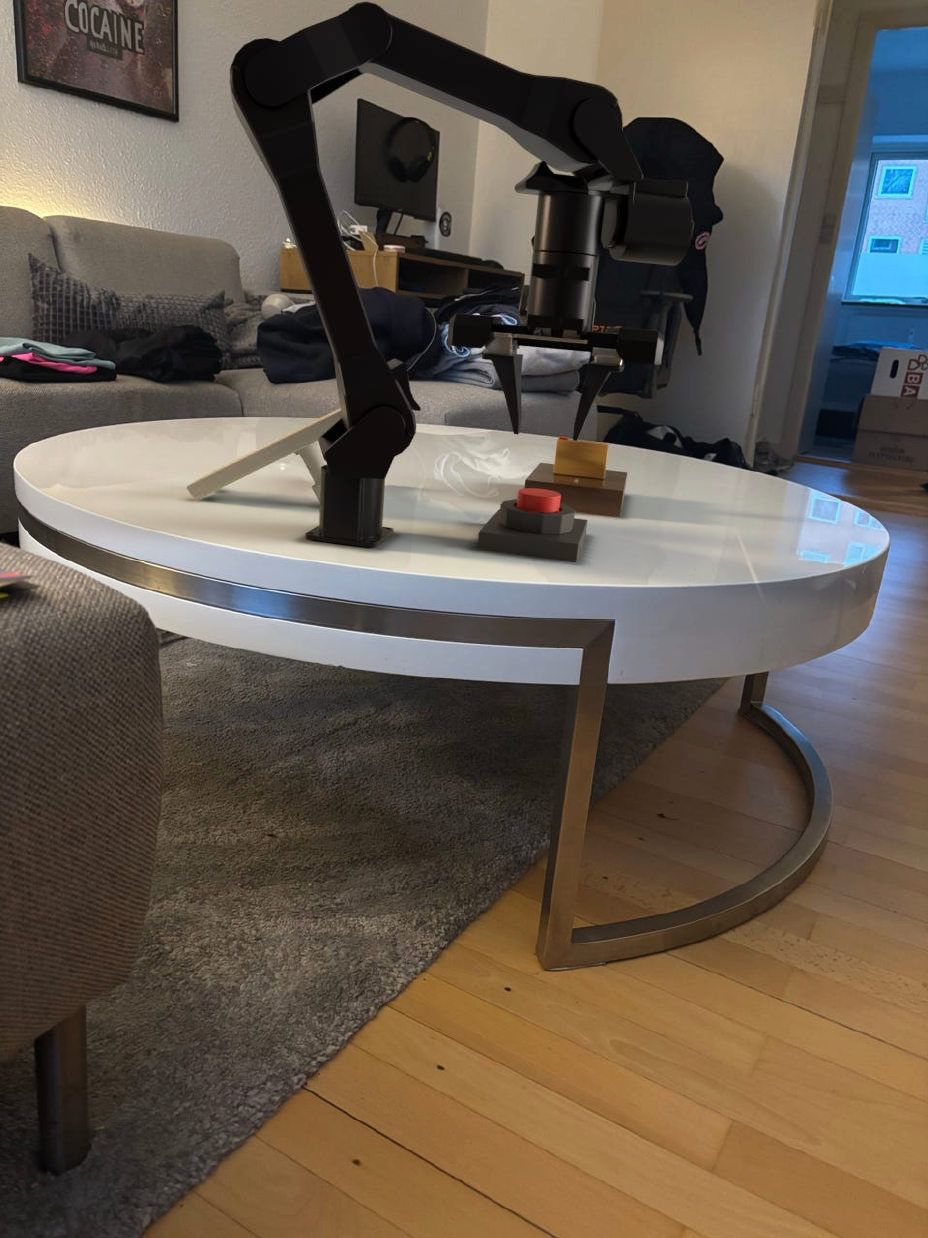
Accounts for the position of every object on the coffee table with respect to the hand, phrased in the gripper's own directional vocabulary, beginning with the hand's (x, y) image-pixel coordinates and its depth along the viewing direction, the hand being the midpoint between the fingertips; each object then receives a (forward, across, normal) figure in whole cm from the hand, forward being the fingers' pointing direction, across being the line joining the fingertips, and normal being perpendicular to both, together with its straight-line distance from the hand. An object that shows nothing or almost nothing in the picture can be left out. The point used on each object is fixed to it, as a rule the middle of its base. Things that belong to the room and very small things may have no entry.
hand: (545, 436), depth 84 cm
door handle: (+10, +28, -9) cm, 31 cm away
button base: (+10, 0, 0) cm, 10 cm away
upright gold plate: (+7, -2, -24) cm, 25 cm away
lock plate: (+10, -2, -24) cm, 26 cm away
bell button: (+7, 0, 0) cm, 7 cm away
